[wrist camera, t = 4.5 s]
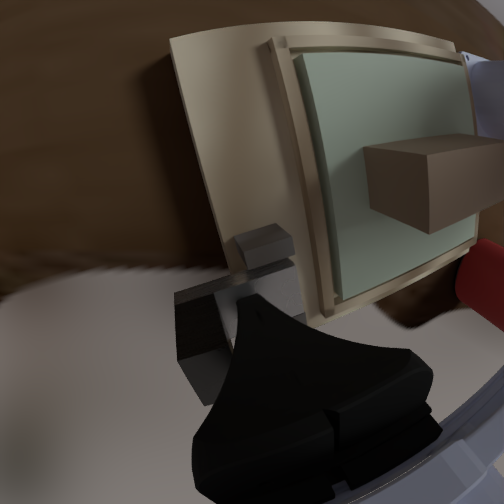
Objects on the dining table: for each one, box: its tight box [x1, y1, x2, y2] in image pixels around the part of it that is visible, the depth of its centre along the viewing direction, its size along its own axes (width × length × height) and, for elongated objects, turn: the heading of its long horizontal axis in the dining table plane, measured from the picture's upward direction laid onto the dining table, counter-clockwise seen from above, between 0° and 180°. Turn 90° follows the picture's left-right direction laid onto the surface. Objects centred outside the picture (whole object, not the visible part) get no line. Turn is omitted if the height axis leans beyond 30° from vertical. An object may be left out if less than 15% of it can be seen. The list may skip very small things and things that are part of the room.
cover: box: [293, 52, 504, 300], centre depth 11 cm, size 12×12×5 cm
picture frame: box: [170, 21, 479, 328], centre depth 13 cm, size 18×16×4 cm
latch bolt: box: [174, 257, 304, 406], centre depth 11 cm, size 5×2×4 cm, turn 103°
